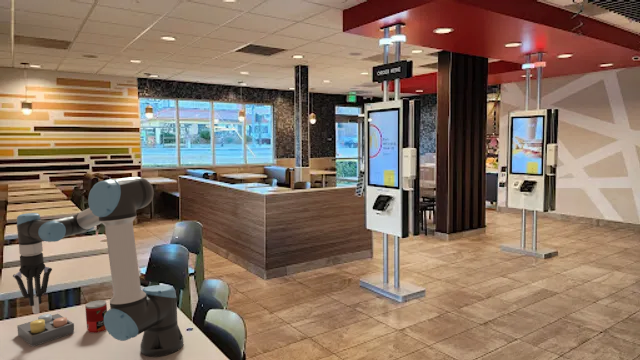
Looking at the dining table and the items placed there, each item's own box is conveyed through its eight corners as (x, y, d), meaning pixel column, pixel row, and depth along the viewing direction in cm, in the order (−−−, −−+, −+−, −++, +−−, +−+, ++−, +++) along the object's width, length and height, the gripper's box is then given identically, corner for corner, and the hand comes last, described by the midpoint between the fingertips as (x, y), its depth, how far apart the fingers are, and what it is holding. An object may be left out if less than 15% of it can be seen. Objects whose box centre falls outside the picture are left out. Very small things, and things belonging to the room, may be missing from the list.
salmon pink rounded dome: (69, 327, 180) (68, 319, 179) (56, 331, 176) (55, 323, 176) (64, 324, 183) (64, 316, 182) (52, 328, 179) (51, 320, 179)
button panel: (74, 332, 180) (73, 323, 179) (32, 346, 168) (31, 336, 168) (58, 322, 190) (57, 313, 190) (18, 335, 179) (17, 325, 178)
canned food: (99, 333, 178) (98, 307, 177) (82, 332, 180) (80, 306, 179) (112, 325, 186) (110, 300, 185) (95, 324, 187) (93, 299, 186)
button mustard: (47, 330, 173) (46, 321, 173) (33, 334, 170) (32, 325, 169) (42, 326, 176) (42, 318, 176) (29, 331, 173) (28, 322, 172)
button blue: (54, 323, 184) (53, 315, 183) (41, 327, 180) (40, 319, 179) (49, 321, 187) (49, 313, 186) (37, 324, 183) (36, 316, 183)
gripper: (46, 248, 177) (50, 305, 180) (8, 255, 167) (13, 315, 170) (53, 251, 173) (58, 309, 175) (14, 259, 163) (20, 320, 165)
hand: (36, 312), depth 172 cm, fingers closed
